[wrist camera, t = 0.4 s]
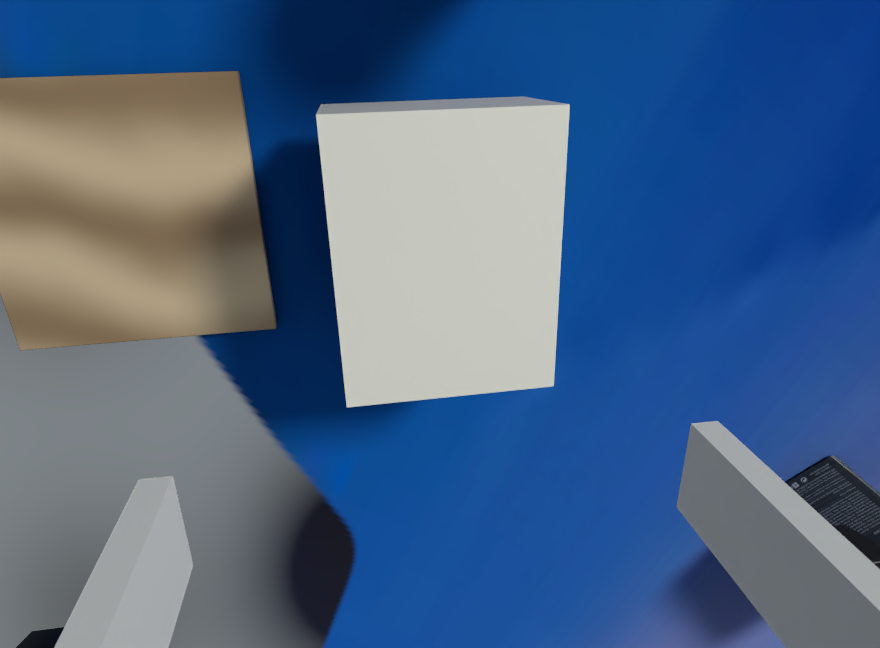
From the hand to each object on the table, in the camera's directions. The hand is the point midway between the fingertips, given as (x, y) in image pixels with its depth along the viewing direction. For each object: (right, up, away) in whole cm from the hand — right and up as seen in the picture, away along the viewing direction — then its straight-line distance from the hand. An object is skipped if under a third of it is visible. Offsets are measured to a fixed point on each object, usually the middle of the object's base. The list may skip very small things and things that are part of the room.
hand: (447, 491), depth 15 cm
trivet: (-17, +10, +17) cm, 26 cm away
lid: (-1, +9, +17) cm, 19 cm away
